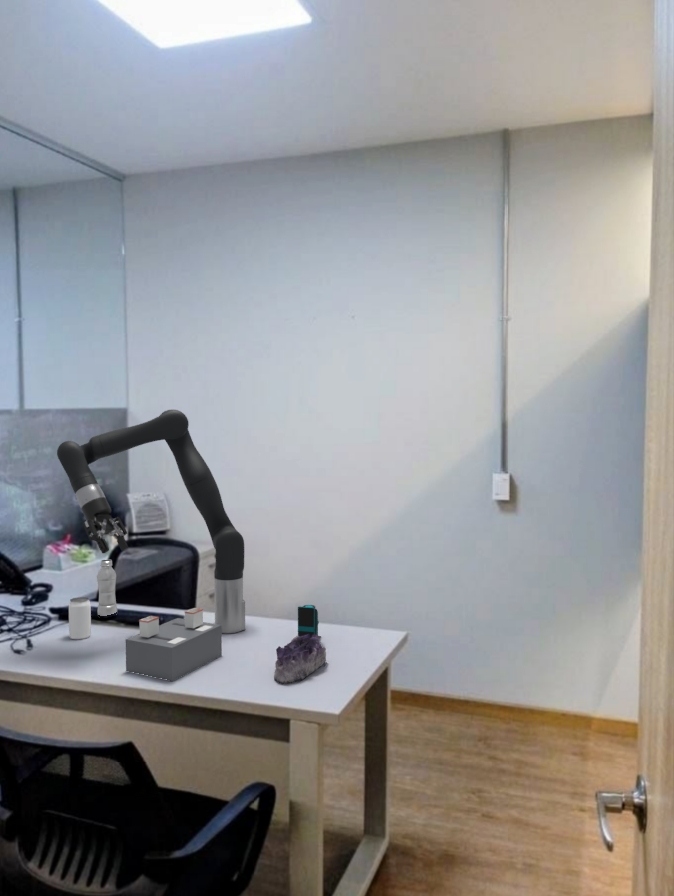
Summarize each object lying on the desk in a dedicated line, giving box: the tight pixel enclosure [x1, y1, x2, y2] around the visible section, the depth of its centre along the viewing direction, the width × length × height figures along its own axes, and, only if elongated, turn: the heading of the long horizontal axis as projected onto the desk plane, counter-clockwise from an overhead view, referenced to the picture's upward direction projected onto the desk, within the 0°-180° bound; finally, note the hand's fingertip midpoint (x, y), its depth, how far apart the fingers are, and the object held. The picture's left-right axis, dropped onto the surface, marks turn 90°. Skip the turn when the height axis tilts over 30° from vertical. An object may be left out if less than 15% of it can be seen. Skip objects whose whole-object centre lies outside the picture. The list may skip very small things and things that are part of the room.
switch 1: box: [138, 615, 160, 638], centre depth 194 cm, size 3×4×4 cm
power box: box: [125, 617, 223, 682], centre depth 197 cm, size 16×22×9 cm
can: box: [68, 596, 92, 641], centre depth 221 cm, size 6×6×12 cm
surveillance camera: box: [297, 604, 322, 639], centre depth 216 cm, size 6×12×10 cm
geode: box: [273, 634, 327, 685], centre depth 191 cm, size 20×12×10 cm, turn 160°
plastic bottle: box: [96, 558, 118, 616], centre depth 241 cm, size 6×7×20 cm
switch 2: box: [184, 607, 204, 628], centre depth 202 cm, size 3×4×4 cm
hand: (115, 550), depth 203 cm, fingers open, 8 cm apart
